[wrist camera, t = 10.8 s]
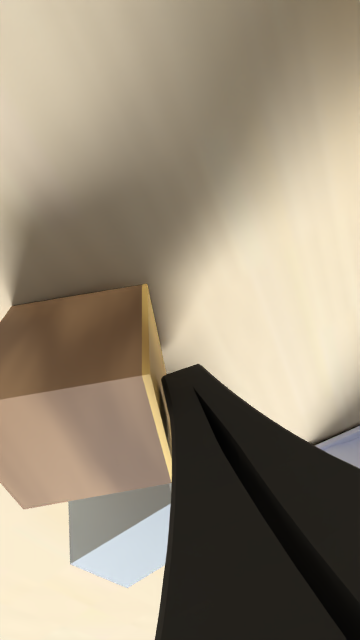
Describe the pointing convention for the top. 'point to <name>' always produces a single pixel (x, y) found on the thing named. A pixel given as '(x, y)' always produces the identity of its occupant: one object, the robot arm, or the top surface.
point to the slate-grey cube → (121, 533)
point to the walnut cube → (82, 398)
